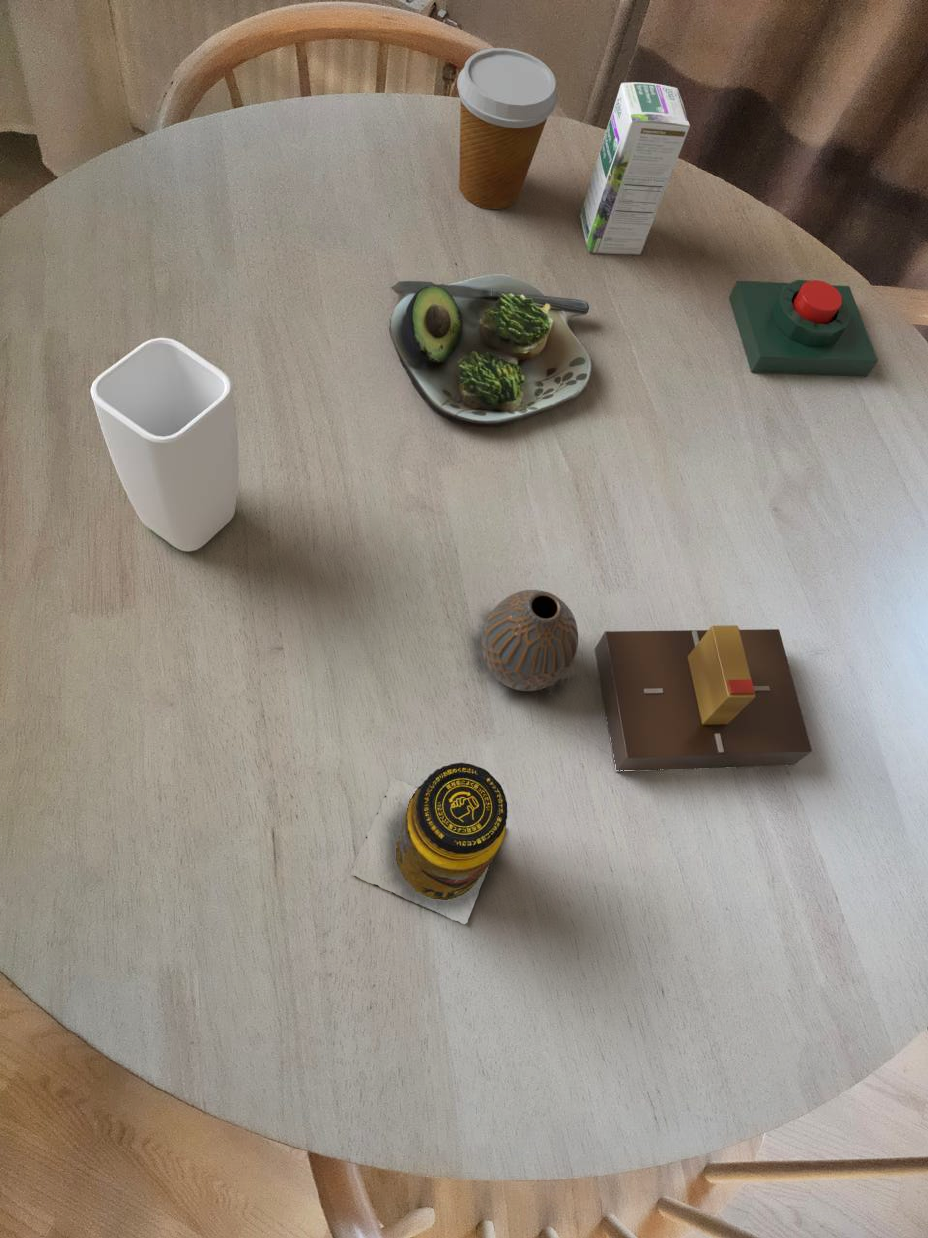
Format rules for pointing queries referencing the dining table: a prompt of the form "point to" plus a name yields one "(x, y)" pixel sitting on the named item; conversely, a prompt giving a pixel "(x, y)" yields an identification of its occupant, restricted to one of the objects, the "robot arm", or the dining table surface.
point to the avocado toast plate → (488, 348)
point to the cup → (172, 439)
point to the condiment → (451, 830)
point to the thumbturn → (720, 675)
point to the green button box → (799, 333)
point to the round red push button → (817, 301)
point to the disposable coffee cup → (501, 122)
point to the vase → (530, 640)
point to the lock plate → (695, 704)
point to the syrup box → (633, 167)
